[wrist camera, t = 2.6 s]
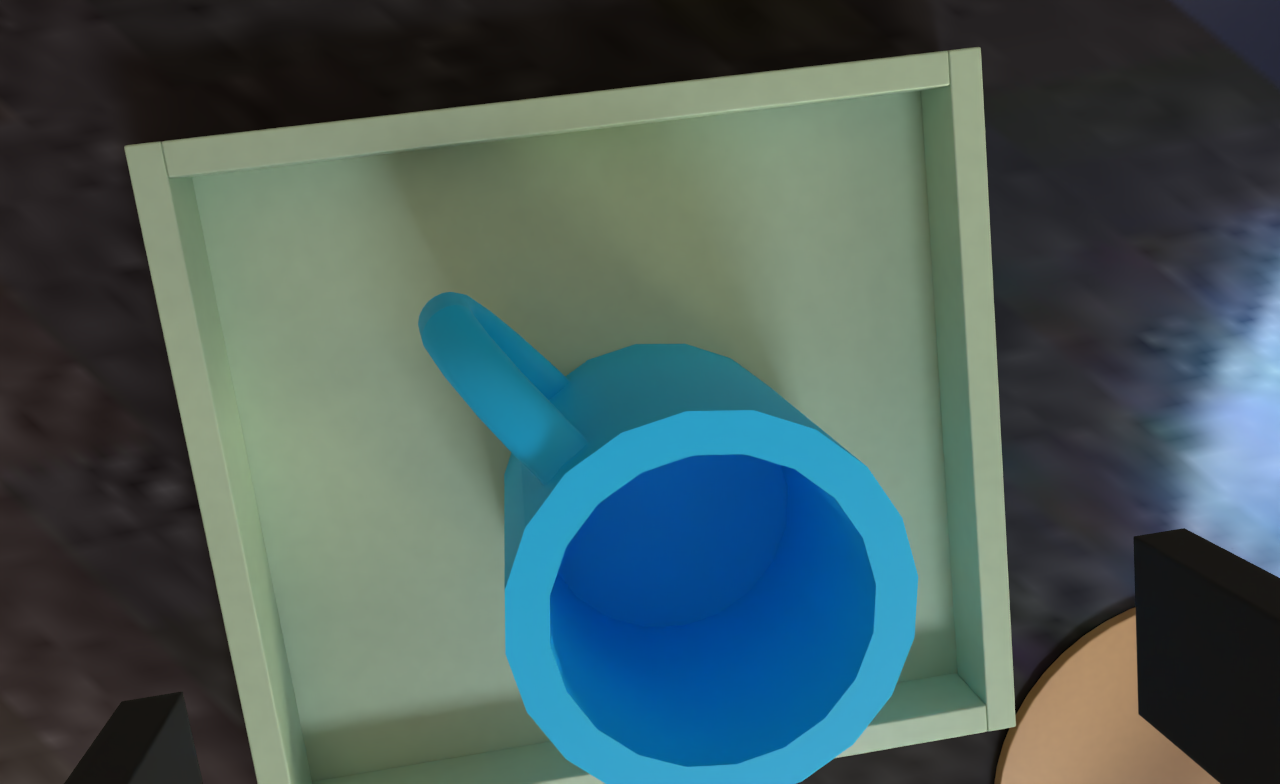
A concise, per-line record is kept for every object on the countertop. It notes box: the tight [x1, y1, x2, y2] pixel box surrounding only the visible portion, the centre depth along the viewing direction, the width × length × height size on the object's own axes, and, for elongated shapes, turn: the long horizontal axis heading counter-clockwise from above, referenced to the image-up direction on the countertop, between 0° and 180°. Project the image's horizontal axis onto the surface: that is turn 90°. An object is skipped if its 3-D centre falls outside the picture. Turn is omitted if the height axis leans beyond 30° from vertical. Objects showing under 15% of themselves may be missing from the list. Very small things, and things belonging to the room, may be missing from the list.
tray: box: [124, 47, 1016, 784], centre depth 28 cm, size 20×18×2 cm
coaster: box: [994, 607, 1220, 784], centre depth 34 cm, size 12×12×1 cm
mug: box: [418, 292, 918, 784], centre depth 25 cm, size 12×8×8 cm
